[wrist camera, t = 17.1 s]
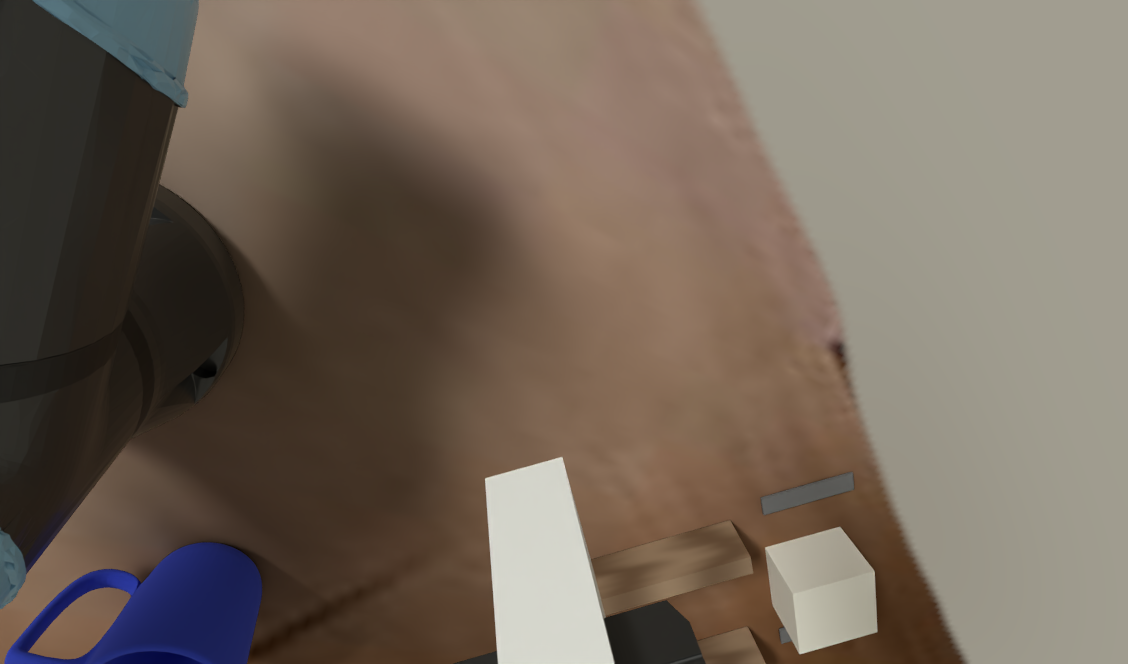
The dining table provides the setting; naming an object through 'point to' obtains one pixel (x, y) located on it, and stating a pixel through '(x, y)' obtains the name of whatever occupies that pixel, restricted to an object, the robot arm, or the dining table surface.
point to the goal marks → (804, 496)
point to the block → (822, 589)
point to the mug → (167, 612)
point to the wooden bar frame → (681, 581)
